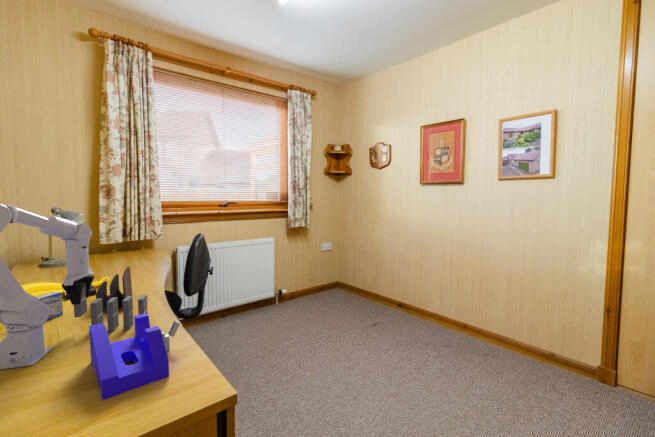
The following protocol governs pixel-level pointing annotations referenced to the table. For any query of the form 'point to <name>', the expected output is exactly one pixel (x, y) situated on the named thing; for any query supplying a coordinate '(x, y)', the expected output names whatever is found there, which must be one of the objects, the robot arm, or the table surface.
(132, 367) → the bracket
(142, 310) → the end domino
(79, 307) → the domino
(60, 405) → the table surface
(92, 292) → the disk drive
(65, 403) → the table surface
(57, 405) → the table surface
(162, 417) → the table surface
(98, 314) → the domino
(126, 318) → the domino
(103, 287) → the letter holder
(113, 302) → the domino
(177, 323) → the lighter
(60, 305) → the medicine box
